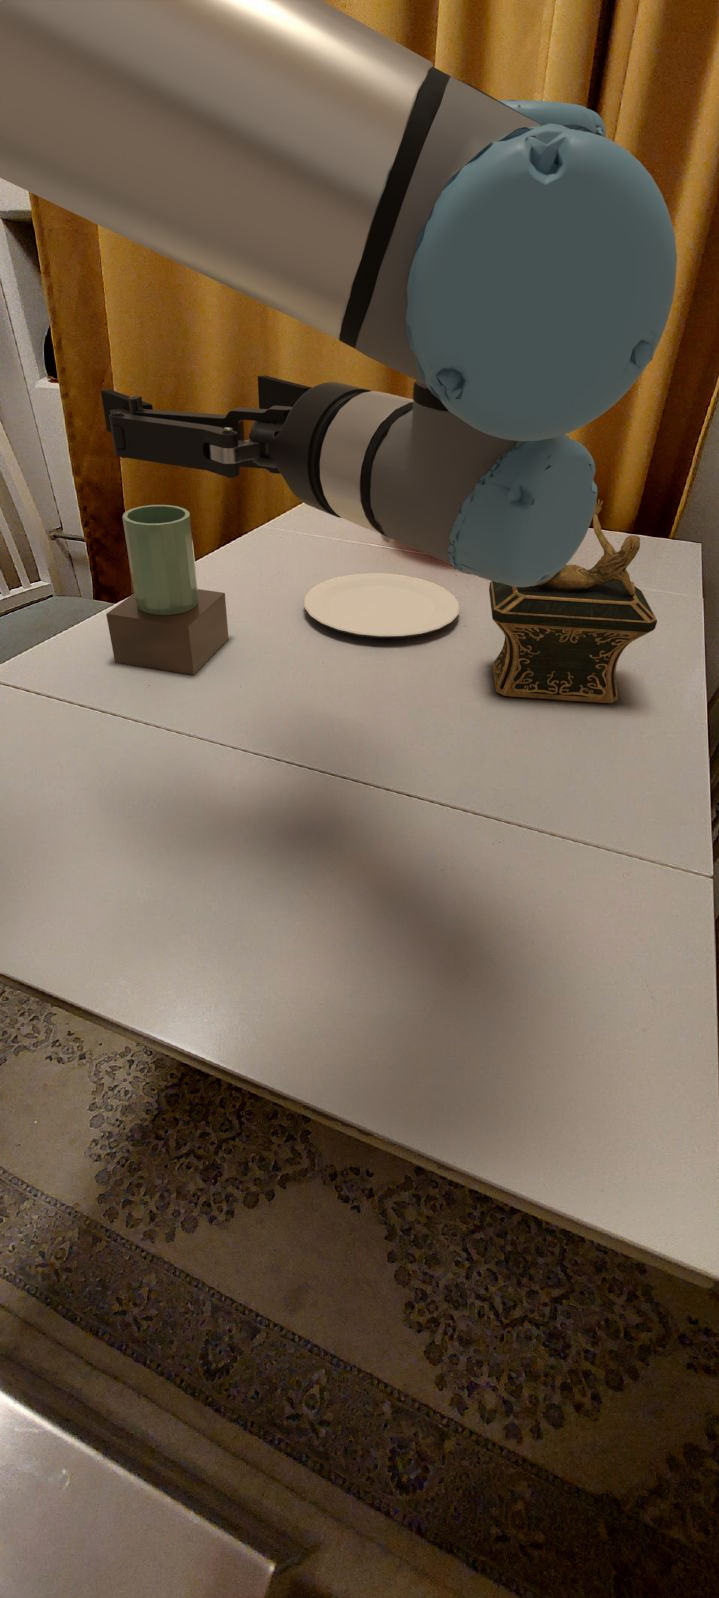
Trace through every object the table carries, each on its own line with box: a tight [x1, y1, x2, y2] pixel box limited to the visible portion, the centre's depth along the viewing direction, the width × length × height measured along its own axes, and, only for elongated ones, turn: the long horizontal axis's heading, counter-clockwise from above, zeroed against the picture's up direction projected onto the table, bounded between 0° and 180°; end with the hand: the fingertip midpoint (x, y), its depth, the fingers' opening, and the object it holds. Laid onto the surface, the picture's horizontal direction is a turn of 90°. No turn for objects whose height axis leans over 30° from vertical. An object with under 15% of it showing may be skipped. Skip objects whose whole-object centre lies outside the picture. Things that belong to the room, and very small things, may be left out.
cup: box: [121, 504, 199, 615], centre depth 85 cm, size 7×7×10 cm
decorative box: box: [488, 498, 658, 704], centre depth 82 cm, size 20×10×20 cm, turn 85°
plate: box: [303, 572, 461, 639], centre depth 101 cm, size 21×21×2 cm
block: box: [105, 588, 230, 676], centre depth 89 cm, size 10×10×6 cm
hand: (189, 401), depth 60 cm, fingers open, 13 cm apart
